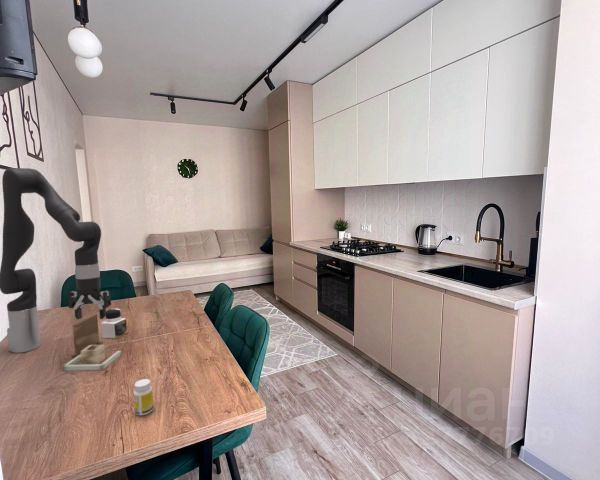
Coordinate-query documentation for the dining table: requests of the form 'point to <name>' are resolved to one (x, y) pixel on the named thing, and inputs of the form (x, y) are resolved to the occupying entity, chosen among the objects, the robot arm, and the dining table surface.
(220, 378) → the dining table surface
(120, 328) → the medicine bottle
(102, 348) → the letter cube
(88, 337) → the screen
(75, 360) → the bay
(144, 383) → the supplement bottle
